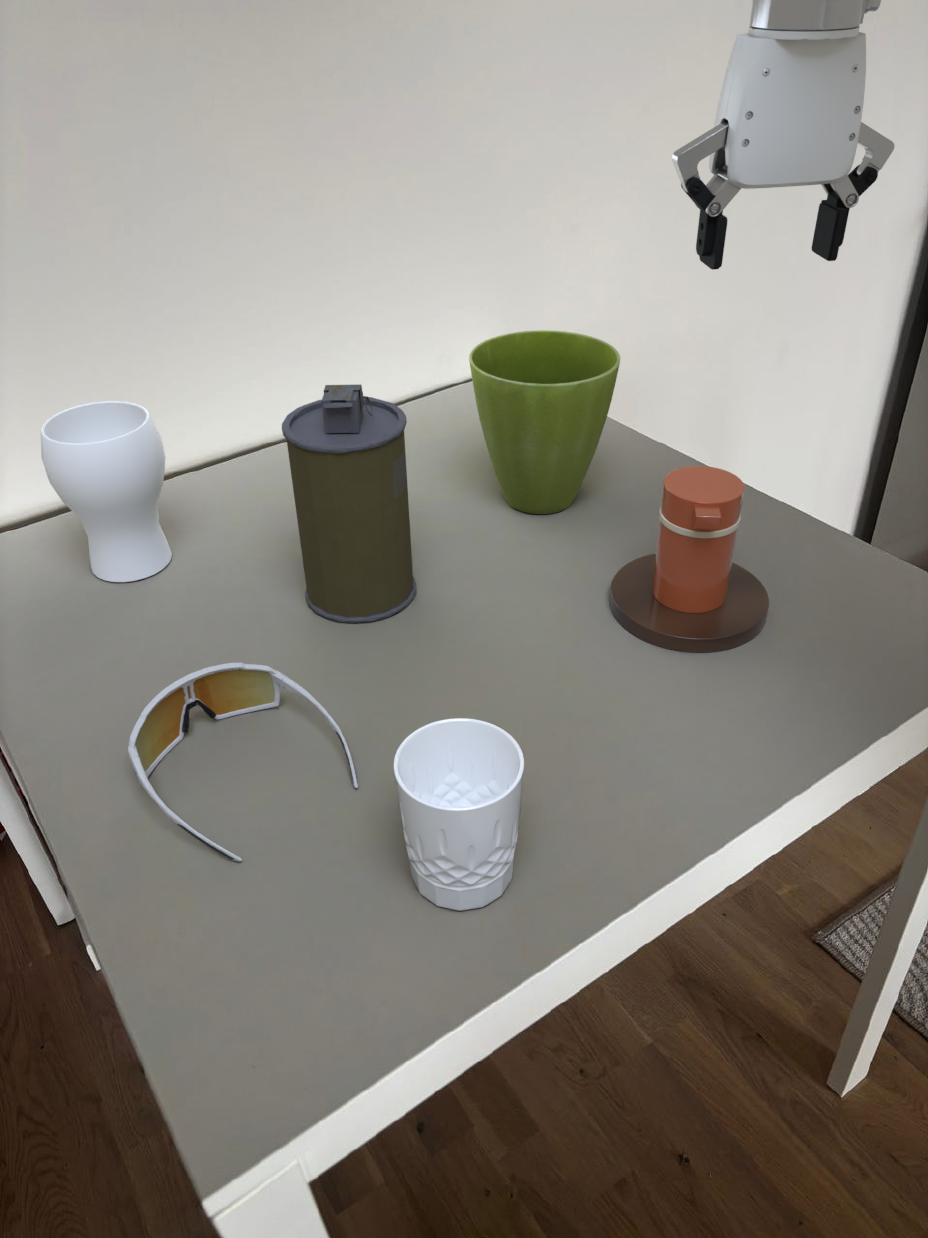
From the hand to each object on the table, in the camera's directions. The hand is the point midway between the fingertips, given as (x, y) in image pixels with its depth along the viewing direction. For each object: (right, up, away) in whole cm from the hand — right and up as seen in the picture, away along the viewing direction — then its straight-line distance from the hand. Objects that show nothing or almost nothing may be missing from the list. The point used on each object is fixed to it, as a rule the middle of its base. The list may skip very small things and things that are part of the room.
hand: (766, 260), depth 78 cm
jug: (-4, -26, +9) cm, 28 cm away
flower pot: (-16, -16, +27) cm, 35 cm away
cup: (-58, -23, +18) cm, 65 cm away
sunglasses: (-41, -41, -6) cm, 58 cm away
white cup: (-25, -46, -14) cm, 54 cm away
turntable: (-4, -28, +10) cm, 30 cm away
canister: (-34, -26, +13) cm, 45 cm away
